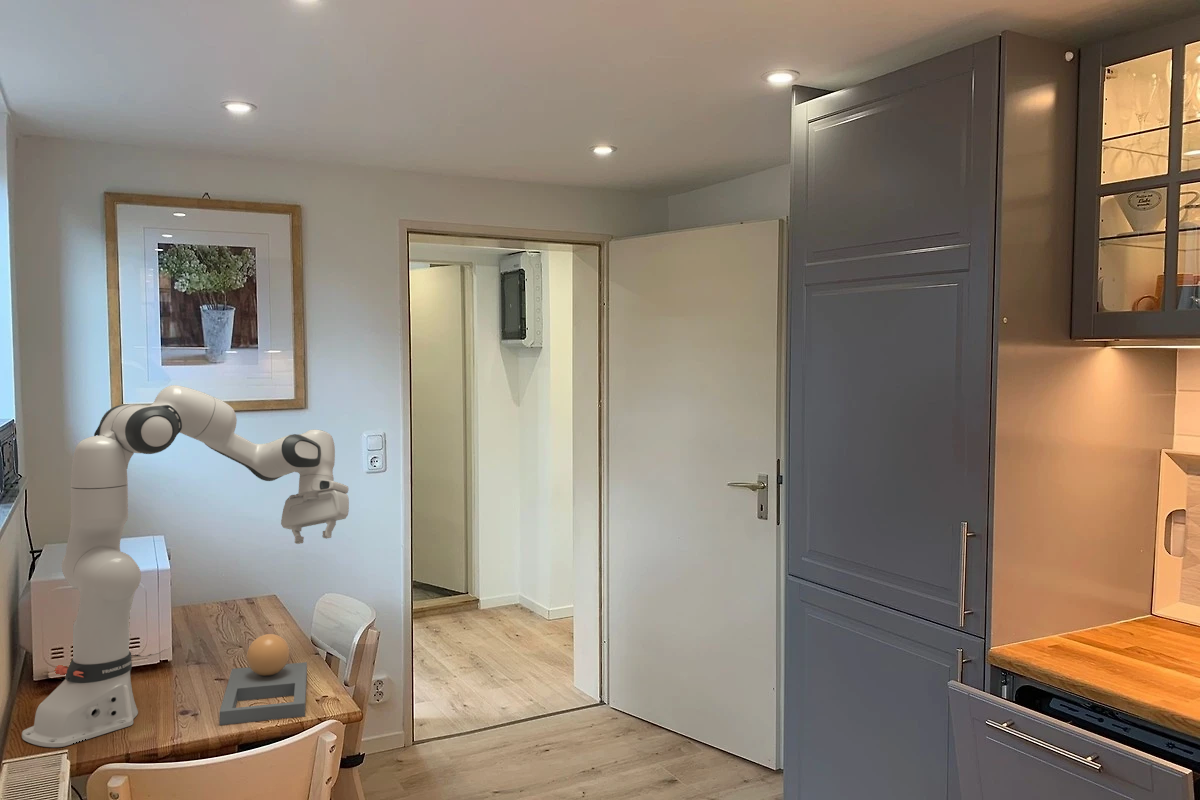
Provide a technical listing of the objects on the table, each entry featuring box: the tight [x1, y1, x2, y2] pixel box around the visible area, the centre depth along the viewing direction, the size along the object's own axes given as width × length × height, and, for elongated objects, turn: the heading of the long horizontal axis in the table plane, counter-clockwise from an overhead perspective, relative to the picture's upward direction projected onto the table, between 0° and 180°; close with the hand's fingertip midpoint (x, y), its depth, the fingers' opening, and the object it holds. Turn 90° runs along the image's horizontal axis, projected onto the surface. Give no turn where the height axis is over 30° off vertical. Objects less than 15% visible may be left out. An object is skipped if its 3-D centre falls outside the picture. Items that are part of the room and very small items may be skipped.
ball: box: [246, 633, 291, 676], centre depth 218 cm, size 10×10×10 cm
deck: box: [218, 661, 308, 726], centre depth 211 cm, size 29×18×3 cm, turn 18°
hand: (312, 540), depth 230 cm, fingers open, 8 cm apart
